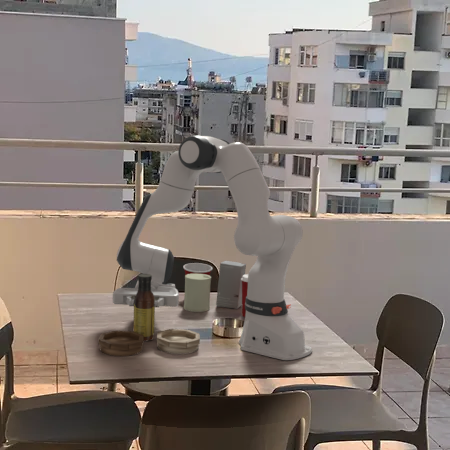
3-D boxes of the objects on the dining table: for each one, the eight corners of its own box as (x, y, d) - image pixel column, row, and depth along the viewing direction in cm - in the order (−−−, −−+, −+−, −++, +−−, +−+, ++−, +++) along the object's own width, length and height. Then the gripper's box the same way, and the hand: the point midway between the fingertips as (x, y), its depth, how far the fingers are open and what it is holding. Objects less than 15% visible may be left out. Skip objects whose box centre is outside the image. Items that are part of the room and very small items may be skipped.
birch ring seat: (207, 348, 213) (208, 336, 213) (177, 357, 204) (177, 345, 204) (178, 337, 222) (179, 326, 221) (148, 346, 213) (148, 334, 212)
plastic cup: (184, 301, 263) (185, 269, 261) (179, 294, 273) (181, 262, 271) (213, 301, 265) (215, 269, 263) (208, 294, 275) (209, 263, 274)
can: (209, 312, 251) (210, 278, 249) (182, 311, 251) (184, 277, 249) (210, 305, 260) (211, 272, 258) (184, 304, 260) (185, 271, 258)
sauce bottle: (143, 334, 223) (146, 271, 220) (158, 339, 219) (161, 275, 216) (128, 338, 218) (130, 274, 215) (142, 343, 214) (145, 278, 211)
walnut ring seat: (151, 350, 209) (152, 338, 209) (118, 359, 200) (118, 347, 200) (124, 339, 217) (124, 328, 217) (90, 348, 208) (90, 336, 208)
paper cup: (259, 320, 245) (262, 279, 242) (237, 317, 246) (239, 277, 244) (263, 314, 252) (265, 274, 250) (241, 311, 254) (243, 272, 251)
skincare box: (215, 306, 258) (218, 263, 256) (221, 301, 265) (223, 259, 263) (238, 309, 256) (241, 265, 254) (244, 304, 263) (246, 262, 260)
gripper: (115, 281, 229) (109, 292, 215) (180, 284, 230) (178, 295, 216) (114, 300, 230) (108, 313, 216) (179, 303, 231) (177, 315, 217)
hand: (144, 304), depth 216 cm, fingers closed on sauce bottle, 6 cm apart
